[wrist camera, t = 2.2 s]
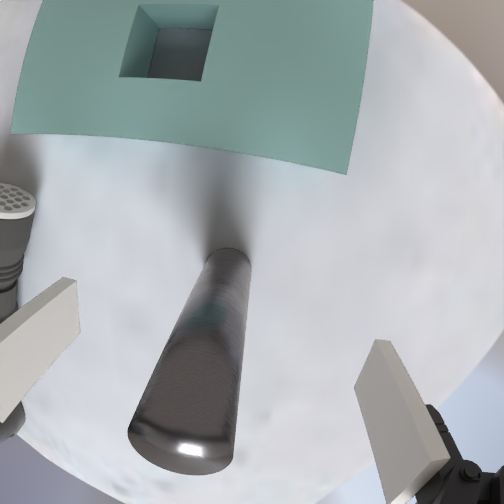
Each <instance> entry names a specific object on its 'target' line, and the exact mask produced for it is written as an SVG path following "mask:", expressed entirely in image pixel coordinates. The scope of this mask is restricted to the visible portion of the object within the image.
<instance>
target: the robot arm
mask: <svg viewBox="0 0 504 504" xmlns="http://www.w3.org/2000/svg"><path fill="white" fill-rule="evenodd" d="M80 333H81V331H80V321H79V310H78V296H77V281H76V280H72V279H69V278H65V277H62V278H61V279H60V280H58V281H57V282H55V283H54V284H53V285H51V286H50V287H48V288H47V289H46V290H44V291H43V292H42V293H40V294H39V295H38V296H36V297H35V298H33V299H32V300H31V301H29V302H28V303H27V304H25V305H24V306H23V307H22V308H20V309H19V310H18V311H16V312H15V313H14V314H12V315H11V316H10V317H9V318H7V319H6V320H5V319H2V320H0V443H1V442H3V441H5V440H6V439H7V438H9V437H12V436H14V435H16V434H17V433H18V431H19V430H20V428H21V427H22V426H23V424H24V422H25V413H24V410H23V407H22V405H21V402H20V401H21V400H22V399H23V397H24V396H25V395H26V394H27V393H28V391H29V390H30V389H31V388H32V387H33V386H34V384H35V383H36V382H37V381H38V380H39V378H40V377H41V376H42V375H43V374H44V373H45V372H46V370H47V369H48V368H49V367H50V366H51V365H52V364H53V362H54V361H55V360H56V359H57V358H58V357H59V356H60V355H61V353H62V352H63V351H64V350H65V349H66V348H67V347H68V346H69V345H70V343H71V342H72V341H73V340H74V339H75V338H76V337H77V336H78V335H79V334H80ZM354 389H355V393H356V396H357V399H358V402H359V406H360V409H361V412H362V416H363V419H364V422H365V426H366V429H367V433H368V436H369V440H370V443H371V447H372V451H373V454H374V458H375V462H376V465H377V469H378V473H379V477H380V480H381V484H382V488H383V492H384V496H385V500H386V504H406V503H407V502H408V501H409V500H410V499H411V498H412V497H414V496H416V499H417V503H416V504H504V466H502V467H501V468H500V469H499V470H498V471H497V473H488V472H482V470H481V469H480V468H479V466H478V465H477V464H475V463H474V462H472V461H469V460H463V458H462V456H461V454H460V452H459V450H458V448H457V446H456V444H455V442H454V440H453V438H452V436H451V434H450V432H449V433H448V428H447V426H446V425H444V421H443V419H442V417H441V415H440V413H439V412H438V411H437V410H436V409H435V408H434V407H433V406H432V405H431V404H428V405H425V404H424V402H423V400H422V398H421V396H420V394H419V392H418V390H417V389H416V387H415V385H414V383H413V381H412V379H411V377H410V375H409V374H408V372H407V370H406V368H405V366H404V364H403V363H402V361H401V359H400V357H399V355H398V354H397V352H396V350H395V348H394V347H393V345H392V343H391V341H386V340H377V339H375V341H374V343H373V346H372V348H371V350H370V353H369V355H368V357H367V360H366V362H365V364H364V366H363V369H362V371H361V373H360V375H359V377H358V379H357V382H356V384H355V386H354Z"/></svg>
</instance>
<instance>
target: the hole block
mask: <svg viewBox="0 0 504 504" xmlns="http://www.w3.org/2000/svg"><path fill="white" fill-rule="evenodd" d="M373 1H374V0H43V2H42V4H41V7H40V10H39V12H38V15H37V18H36V21H35V24H34V27H33V30H32V33H31V36H30V40H29V43H28V47H27V50H26V54H25V58H24V62H23V66H22V70H21V74H20V79H19V83H18V88H17V93H16V98H15V104H14V110H13V117H12V124H11V131H10V134H65V135H88V136H104V137H118V138H130V139H140V140H150V141H160V142H168V143H177V144H185V145H192V146H199V147H206V148H213V149H220V150H226V151H232V152H238V153H244V154H250V155H255V156H261V157H266V158H271V159H276V160H282V161H286V162H291V163H296V164H301V165H305V166H310V167H314V168H319V169H323V170H328V171H332V172H336V173H340V174H344V175H347V170H348V165H349V160H350V155H351V150H352V145H353V140H354V135H355V129H356V124H357V118H358V113H359V107H360V101H361V95H362V89H363V82H364V75H365V69H366V62H367V54H368V47H369V39H370V30H371V21H372V12H373ZM160 28H185V29H204V30H213V31H212V35H211V39H210V43H209V48H208V52H207V56H206V61H205V65H204V70H203V74H202V79H201V81H190V80H177V79H161V78H147V77H148V73H149V68H150V64H151V60H152V56H153V52H154V48H155V44H156V40H157V36H158V33H159V29H160Z"/></svg>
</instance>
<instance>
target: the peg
mask: <svg viewBox="0 0 504 504" xmlns="http://www.w3.org/2000/svg"><path fill="white" fill-rule="evenodd" d="M250 279H251V265H250V262H249V260H248V259H247V257H246V256H245V255H244V254H243V253H241V252H240V251H238V250H236V249H232V248H222V249H219V250H217V251H215V252H214V253H212V254H211V255H210V256H209V258H208V260H207V262H206V264H205V266H204V268H203V270H202V272H201V274H200V276H199V278H198V280H197V282H196V284H195V286H194V288H193V290H192V292H191V294H190V296H189V298H188V300H187V302H186V304H185V306H184V308H183V310H182V312H181V314H180V316H179V318H178V320H177V323H176V325H175V327H174V329H173V331H172V333H171V335H170V337H169V339H168V341H167V344H166V346H165V348H164V350H163V352H162V354H161V356H160V358H159V361H158V363H157V365H156V367H155V369H154V371H153V374H152V376H151V378H150V380H149V382H148V384H147V387H146V389H145V391H144V393H143V396H142V398H141V400H140V402H139V404H138V407H137V409H136V411H135V413H134V416H133V418H132V420H131V422H130V425H129V427H128V438H129V441H130V443H131V444H132V446H133V447H134V449H135V450H136V451H137V452H138V453H139V454H140V455H141V456H142V457H144V458H145V459H146V460H148V461H149V462H151V463H153V464H155V465H157V466H159V467H161V468H163V469H166V470H169V471H172V472H176V473H180V474H186V475H208V474H213V473H216V472H219V471H221V470H223V469H224V468H226V467H227V466H228V465H229V464H230V463H231V461H232V459H233V452H234V442H235V432H236V422H237V411H238V401H239V391H240V381H241V371H242V361H243V350H244V340H245V330H246V320H247V310H248V299H249V289H250Z"/></svg>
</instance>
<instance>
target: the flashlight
mask: <svg viewBox="0 0 504 504" xmlns="http://www.w3.org/2000/svg"><path fill="white" fill-rule="evenodd" d="M35 206H36V199H35V197H34V196H33V195H32V194H30V193H28V192H26V191H25V190H23V189H21V188H20V187H18V186H14V185H10V184H5V183H0V320H2V319H5V320H6V319H7V318H9V317H10V316H11V315H12V314H14V313H15V312H16V311H17V302H16V292H17V278H18V277H19V276H20V275H21V272H22V270H23V260H24V251H25V248H26V246H27V243H28V241H29V238H30V232H31V226H32V221H33V216H34V211H35Z"/></svg>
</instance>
